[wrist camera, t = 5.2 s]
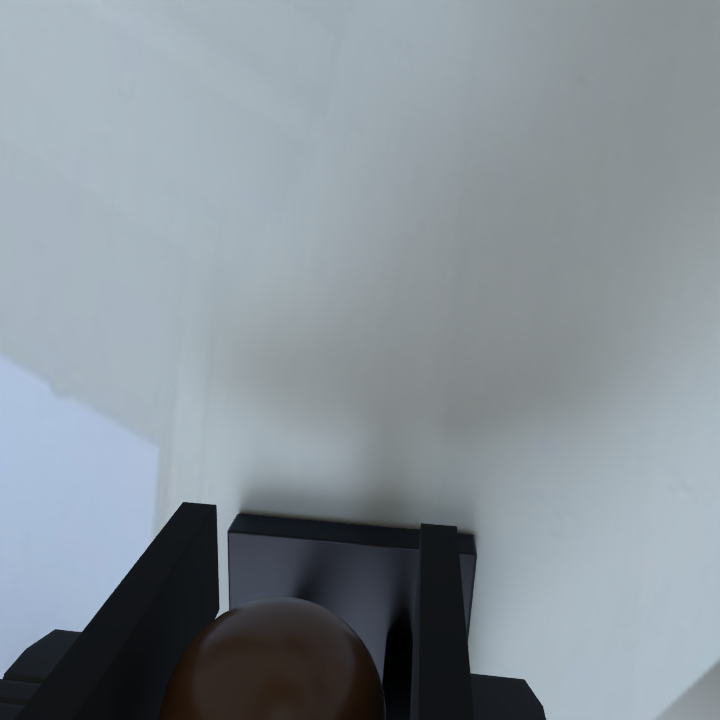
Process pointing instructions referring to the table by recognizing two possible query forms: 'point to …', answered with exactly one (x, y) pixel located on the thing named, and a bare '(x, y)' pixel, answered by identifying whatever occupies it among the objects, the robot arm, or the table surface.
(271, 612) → the flush lever
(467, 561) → the lever bracket
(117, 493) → the table surface
